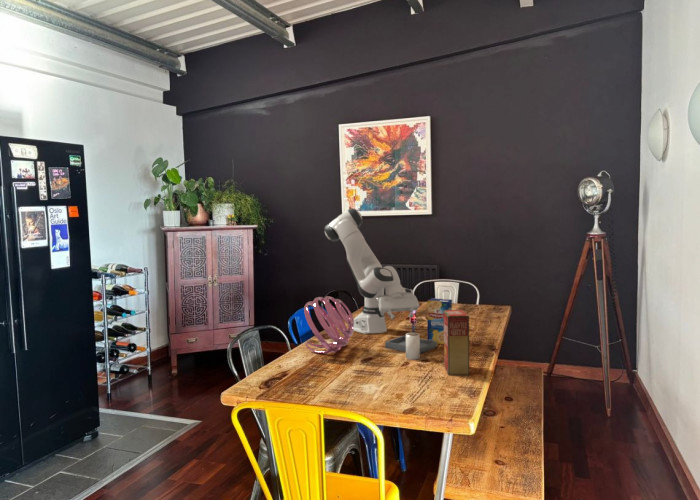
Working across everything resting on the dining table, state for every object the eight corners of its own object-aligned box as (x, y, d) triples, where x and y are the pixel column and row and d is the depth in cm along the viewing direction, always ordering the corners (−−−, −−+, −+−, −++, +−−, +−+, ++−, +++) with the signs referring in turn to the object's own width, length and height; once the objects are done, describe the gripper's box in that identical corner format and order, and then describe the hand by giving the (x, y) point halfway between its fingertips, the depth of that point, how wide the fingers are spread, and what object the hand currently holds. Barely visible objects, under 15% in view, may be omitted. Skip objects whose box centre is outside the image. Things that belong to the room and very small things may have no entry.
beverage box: (447, 344, 262) (448, 301, 260) (427, 342, 267) (427, 300, 265) (451, 341, 268) (452, 299, 266) (431, 339, 273) (431, 298, 271)
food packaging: (442, 365, 227) (442, 309, 225) (464, 365, 227) (464, 309, 225) (447, 375, 214) (447, 315, 212) (470, 375, 213) (470, 315, 212)
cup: (403, 358, 240) (403, 334, 239) (410, 354, 244) (410, 332, 244) (414, 360, 235) (414, 336, 235) (422, 357, 240) (422, 333, 240)
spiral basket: (277, 314, 247) (323, 283, 242) (302, 316, 273) (343, 288, 268) (304, 365, 238) (352, 334, 233) (327, 363, 264) (370, 335, 259)
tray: (385, 347, 257) (385, 341, 257) (403, 341, 270) (402, 335, 269) (419, 354, 245) (419, 348, 244) (436, 347, 257) (436, 341, 257)
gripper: (377, 292, 254) (383, 315, 245) (415, 289, 259) (423, 312, 251) (374, 299, 259) (380, 322, 250) (412, 297, 264) (419, 319, 255)
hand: (402, 317), depth 250 cm, fingers open, 8 cm apart
